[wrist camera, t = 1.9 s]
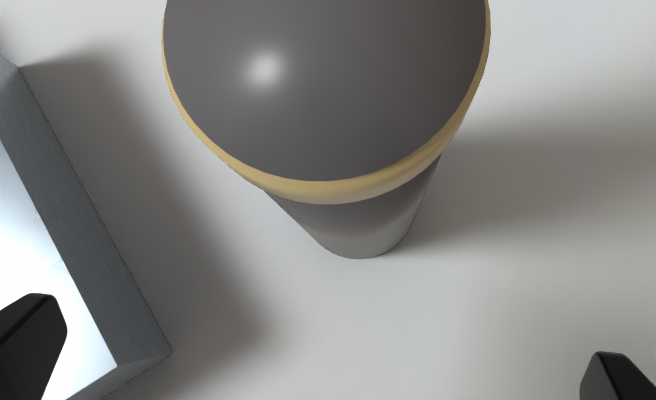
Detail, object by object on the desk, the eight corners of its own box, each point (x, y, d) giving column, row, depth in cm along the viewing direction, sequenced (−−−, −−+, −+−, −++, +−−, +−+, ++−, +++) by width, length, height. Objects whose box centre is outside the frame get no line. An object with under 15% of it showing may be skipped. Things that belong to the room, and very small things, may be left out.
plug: (442, 219, 21) (566, 59, 7) (340, 285, 21) (263, 254, 7) (375, 122, 22) (369, -185, 8) (277, 185, 22) (99, -16, 8)
